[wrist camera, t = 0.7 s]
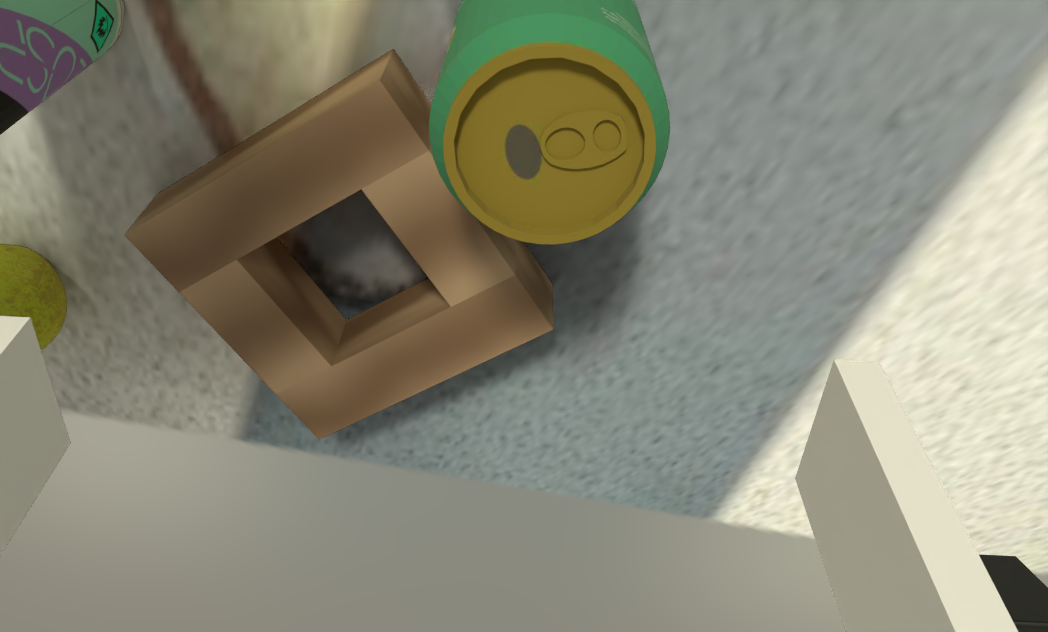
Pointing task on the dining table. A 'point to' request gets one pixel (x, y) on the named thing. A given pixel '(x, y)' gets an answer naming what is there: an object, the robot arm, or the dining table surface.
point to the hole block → (291, 295)
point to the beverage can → (549, 116)
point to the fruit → (31, 291)
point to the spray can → (49, 47)
